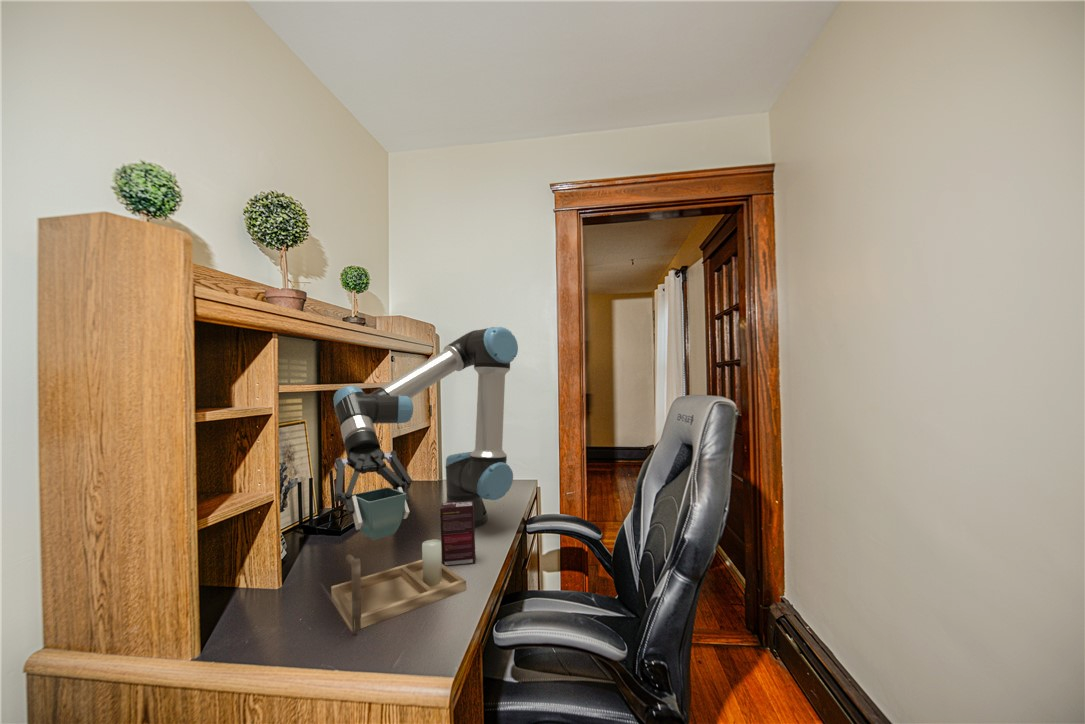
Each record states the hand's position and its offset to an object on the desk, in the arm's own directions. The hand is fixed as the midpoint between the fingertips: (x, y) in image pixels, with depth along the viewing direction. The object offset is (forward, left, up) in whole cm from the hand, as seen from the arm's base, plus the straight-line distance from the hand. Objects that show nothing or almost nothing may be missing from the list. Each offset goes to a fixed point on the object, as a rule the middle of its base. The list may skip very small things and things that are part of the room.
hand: (383, 520), depth 95 cm
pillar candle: (-12, -3, -18) cm, 22 cm away
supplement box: (-22, -9, -19) cm, 30 cm away
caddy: (-4, -3, -19) cm, 19 cm away
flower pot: (0, -3, -4) cm, 5 cm away
